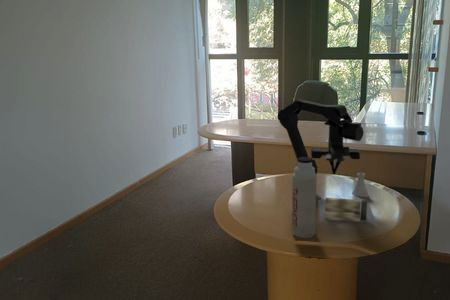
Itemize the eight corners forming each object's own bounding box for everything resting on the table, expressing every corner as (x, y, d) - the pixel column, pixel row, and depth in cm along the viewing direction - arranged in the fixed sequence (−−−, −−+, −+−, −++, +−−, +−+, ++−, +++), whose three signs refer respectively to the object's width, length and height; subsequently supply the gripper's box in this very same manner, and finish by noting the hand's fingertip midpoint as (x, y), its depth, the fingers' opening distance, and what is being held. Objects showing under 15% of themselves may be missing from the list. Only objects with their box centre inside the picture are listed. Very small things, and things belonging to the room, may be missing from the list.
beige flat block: (359, 214, 153) (359, 200, 151) (359, 216, 151) (360, 201, 150) (325, 212, 156) (325, 197, 155) (325, 213, 155) (325, 199, 153)
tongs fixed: (365, 217, 151) (366, 200, 149) (367, 221, 148) (368, 203, 146) (324, 215, 154) (325, 198, 152) (325, 219, 151) (325, 202, 149)
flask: (366, 192, 178) (367, 171, 175) (370, 199, 171) (371, 176, 168) (349, 192, 179) (350, 171, 176) (352, 198, 172) (354, 176, 169)
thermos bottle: (295, 241, 137) (296, 162, 130) (289, 230, 145) (290, 155, 138) (317, 239, 138) (320, 161, 131) (311, 229, 146) (313, 154, 138)
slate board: (319, 222, 151) (319, 219, 150) (317, 201, 170) (318, 199, 169) (375, 225, 147) (376, 222, 147) (367, 203, 166) (367, 201, 166)
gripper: (313, 141, 155) (311, 179, 159) (364, 142, 152) (360, 181, 156) (311, 134, 165) (310, 170, 169) (358, 135, 163) (356, 171, 167)
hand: (333, 173), depth 165 cm, fingers closed
